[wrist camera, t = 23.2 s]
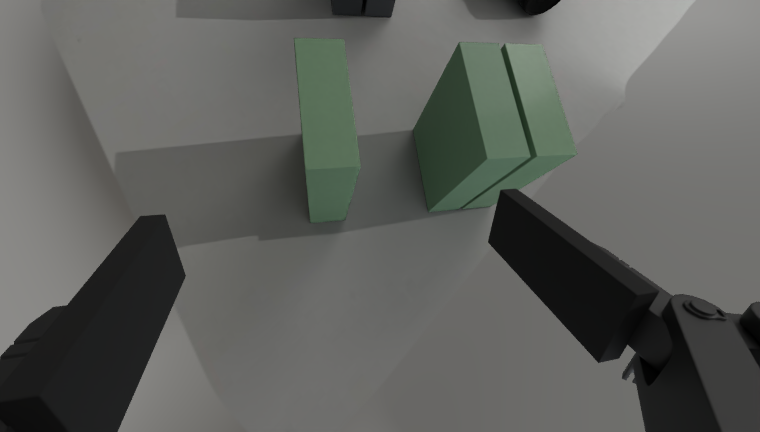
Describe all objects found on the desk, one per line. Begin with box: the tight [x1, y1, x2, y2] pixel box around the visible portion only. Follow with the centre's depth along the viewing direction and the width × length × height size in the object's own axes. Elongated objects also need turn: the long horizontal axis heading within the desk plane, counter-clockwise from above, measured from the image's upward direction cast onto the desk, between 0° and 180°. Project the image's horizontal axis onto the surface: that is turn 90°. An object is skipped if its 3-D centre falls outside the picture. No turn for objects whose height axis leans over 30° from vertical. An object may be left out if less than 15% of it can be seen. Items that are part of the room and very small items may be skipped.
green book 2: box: [462, 43, 577, 209], centre depth 31 cm, size 4×10×13 cm, turn 8°
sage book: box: [294, 38, 361, 223], centre depth 28 cm, size 4×10×13 cm, turn 8°
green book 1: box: [413, 42, 531, 212], centre depth 30 cm, size 4×10×13 cm, turn 8°
